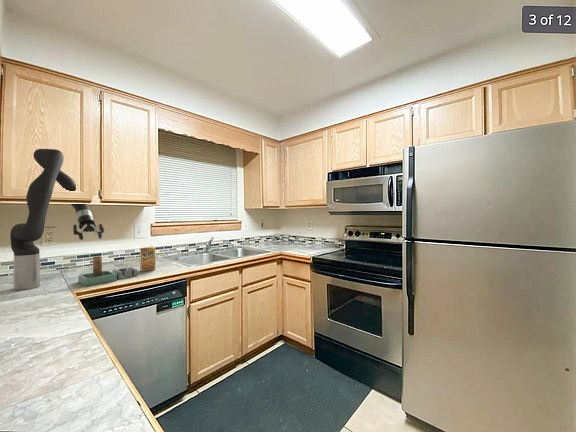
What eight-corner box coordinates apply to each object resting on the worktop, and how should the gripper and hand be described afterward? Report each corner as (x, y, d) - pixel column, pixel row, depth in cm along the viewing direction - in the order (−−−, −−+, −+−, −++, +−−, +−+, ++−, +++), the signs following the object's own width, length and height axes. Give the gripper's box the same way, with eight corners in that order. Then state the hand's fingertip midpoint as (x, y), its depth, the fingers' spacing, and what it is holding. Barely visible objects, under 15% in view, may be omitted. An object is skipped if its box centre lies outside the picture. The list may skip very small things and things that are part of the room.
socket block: (118, 279, 146) (118, 272, 146) (112, 276, 152) (112, 269, 152) (137, 275, 154) (137, 269, 154) (130, 273, 160) (130, 267, 160)
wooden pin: (94, 281, 139) (94, 257, 138) (92, 279, 141) (92, 256, 141) (103, 279, 142) (103, 256, 141) (100, 278, 144) (100, 255, 144)
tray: (86, 286, 131) (85, 279, 131) (78, 282, 140) (78, 274, 140) (116, 280, 143) (116, 273, 142) (108, 276, 151) (107, 270, 151)
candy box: (140, 271, 165) (140, 248, 165) (140, 270, 169) (140, 247, 169) (155, 270, 169) (155, 247, 169) (155, 268, 173) (155, 246, 173)
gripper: (71, 214, 147) (77, 235, 140) (100, 214, 158) (107, 233, 151) (69, 223, 150) (74, 243, 143) (98, 222, 161) (104, 241, 155)
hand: (91, 238), depth 147 cm, fingers open, 8 cm apart
